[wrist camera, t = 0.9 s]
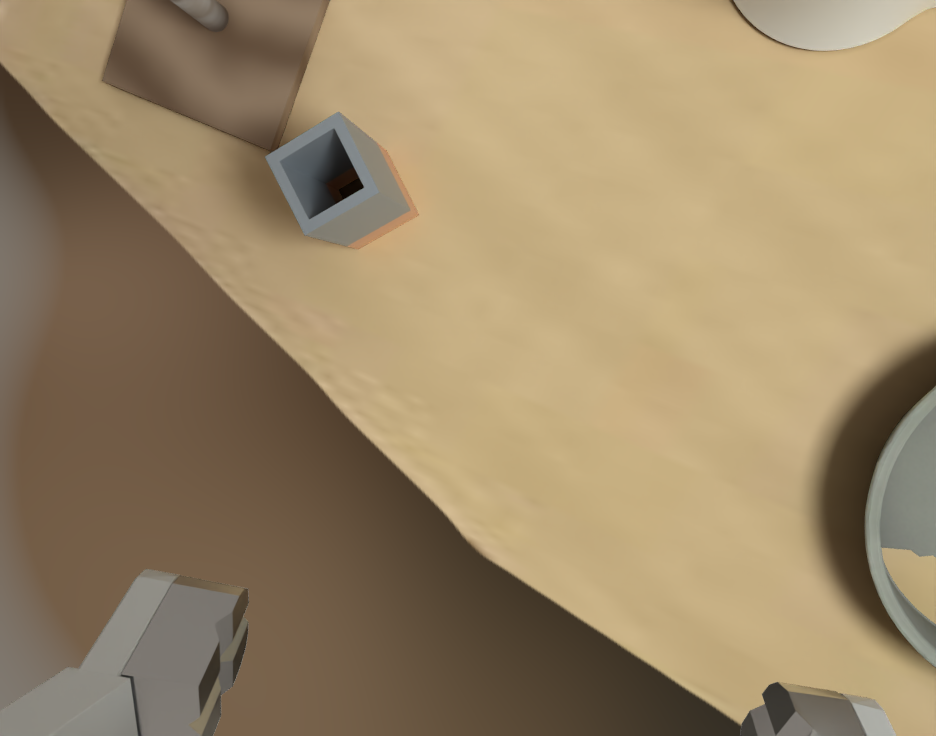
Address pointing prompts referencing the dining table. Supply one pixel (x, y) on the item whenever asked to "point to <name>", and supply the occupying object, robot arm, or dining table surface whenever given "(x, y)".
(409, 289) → the dining table surface
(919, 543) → the cake pan
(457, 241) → the dining table surface
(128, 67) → the pin board
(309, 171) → the sleeve
